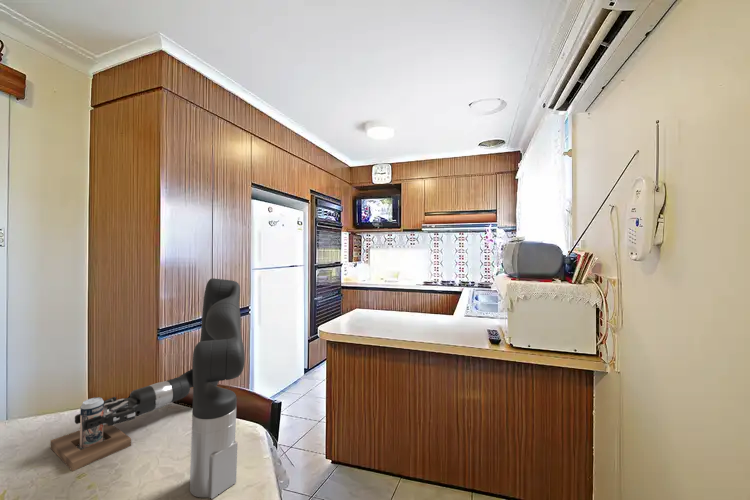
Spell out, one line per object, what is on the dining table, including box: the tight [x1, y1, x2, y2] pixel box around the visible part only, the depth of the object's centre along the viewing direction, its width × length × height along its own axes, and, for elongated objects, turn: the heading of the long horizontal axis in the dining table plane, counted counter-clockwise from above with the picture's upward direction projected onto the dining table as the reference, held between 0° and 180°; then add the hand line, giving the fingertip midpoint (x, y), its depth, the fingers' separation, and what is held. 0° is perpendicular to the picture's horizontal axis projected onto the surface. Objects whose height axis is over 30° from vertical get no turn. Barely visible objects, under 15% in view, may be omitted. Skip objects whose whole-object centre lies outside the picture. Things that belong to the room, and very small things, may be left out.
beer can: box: [79, 396, 105, 450], centre depth 86 cm, size 5×5×12 cm
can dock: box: [49, 424, 132, 472], centre depth 86 cm, size 16×12×2 cm
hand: (79, 423), depth 83 cm, fingers closed on beer can, 4 cm apart
